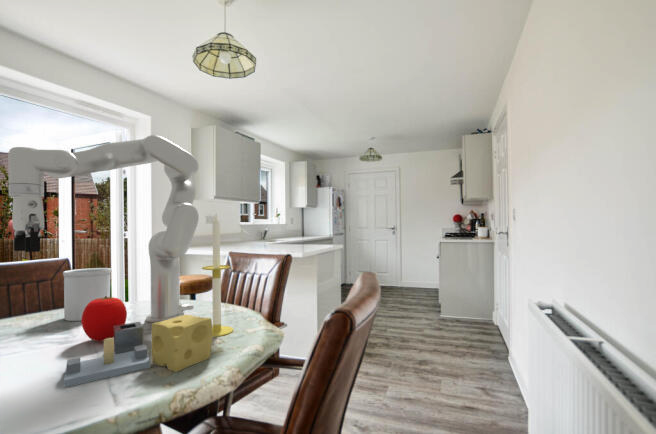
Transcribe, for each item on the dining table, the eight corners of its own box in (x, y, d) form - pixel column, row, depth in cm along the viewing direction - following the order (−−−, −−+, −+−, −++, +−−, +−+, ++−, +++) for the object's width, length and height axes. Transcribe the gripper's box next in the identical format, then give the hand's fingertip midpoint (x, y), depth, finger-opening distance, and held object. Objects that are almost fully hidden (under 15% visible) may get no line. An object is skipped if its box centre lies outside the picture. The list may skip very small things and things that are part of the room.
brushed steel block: (139, 342, 97) (139, 321, 97) (142, 349, 92) (142, 326, 92) (113, 347, 93) (113, 325, 93) (115, 354, 88) (115, 331, 88)
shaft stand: (144, 354, 87) (144, 327, 88) (150, 367, 79) (150, 337, 80) (66, 370, 78) (66, 340, 78) (64, 387, 70) (64, 353, 70)
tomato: (72, 343, 97) (72, 298, 97) (109, 332, 107) (109, 291, 107) (99, 348, 93) (99, 301, 93) (134, 335, 103) (134, 293, 103)
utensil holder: (87, 310, 135) (87, 267, 136) (120, 311, 133) (120, 267, 134) (52, 321, 121) (52, 272, 121) (89, 322, 118) (89, 272, 119)
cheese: (175, 373, 76) (175, 329, 76) (149, 363, 82) (148, 322, 82) (213, 357, 85) (213, 317, 85) (186, 349, 91) (186, 312, 91)
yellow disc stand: (200, 339, 99) (199, 212, 100) (199, 329, 108) (199, 213, 109) (235, 334, 103) (233, 212, 103) (231, 325, 112) (230, 213, 113)
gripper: (54, 190, 94) (54, 251, 94) (33, 194, 104) (33, 249, 104) (18, 188, 88) (19, 253, 88) (0, 192, 98) (0, 251, 97)
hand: (26, 251), depth 96 cm, fingers open, 9 cm apart
